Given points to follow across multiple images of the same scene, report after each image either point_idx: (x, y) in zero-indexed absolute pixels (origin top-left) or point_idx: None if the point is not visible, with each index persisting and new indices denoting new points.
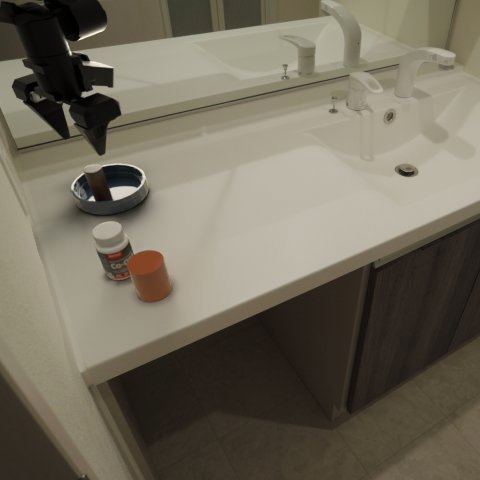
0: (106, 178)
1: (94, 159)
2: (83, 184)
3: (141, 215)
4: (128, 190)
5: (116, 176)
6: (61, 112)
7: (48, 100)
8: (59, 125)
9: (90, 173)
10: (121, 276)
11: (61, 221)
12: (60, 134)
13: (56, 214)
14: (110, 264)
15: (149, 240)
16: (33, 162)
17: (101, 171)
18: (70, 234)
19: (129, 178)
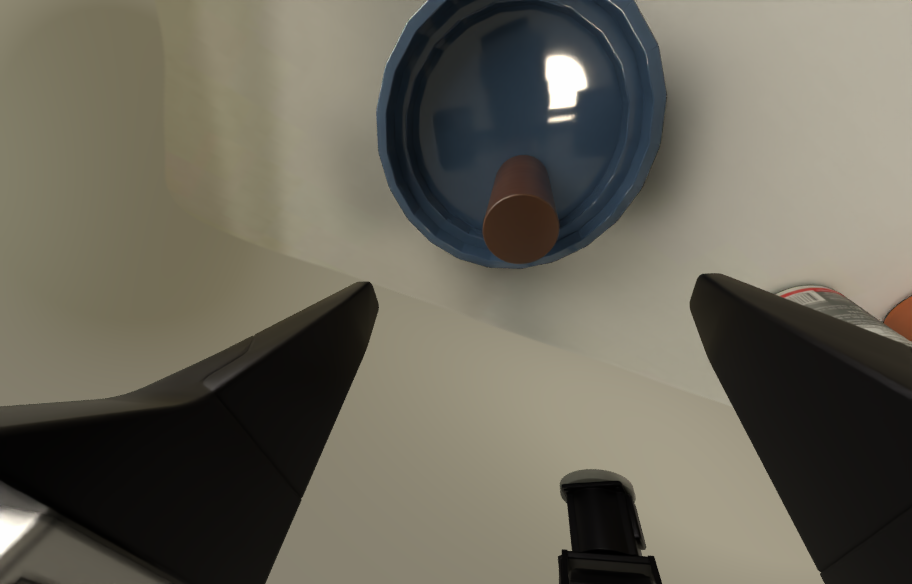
0: (415, 101)
1: (241, 40)
2: (422, 195)
3: (688, 141)
4: (543, 85)
5: (431, 62)
6: (258, 388)
7: (167, 562)
8: (336, 365)
9: (543, 254)
10: None
11: (499, 291)
12: (368, 341)
13: (465, 283)
14: None
15: (806, 206)
16: (192, 198)
17: (554, 208)
18: (561, 304)
19: (474, 22)
